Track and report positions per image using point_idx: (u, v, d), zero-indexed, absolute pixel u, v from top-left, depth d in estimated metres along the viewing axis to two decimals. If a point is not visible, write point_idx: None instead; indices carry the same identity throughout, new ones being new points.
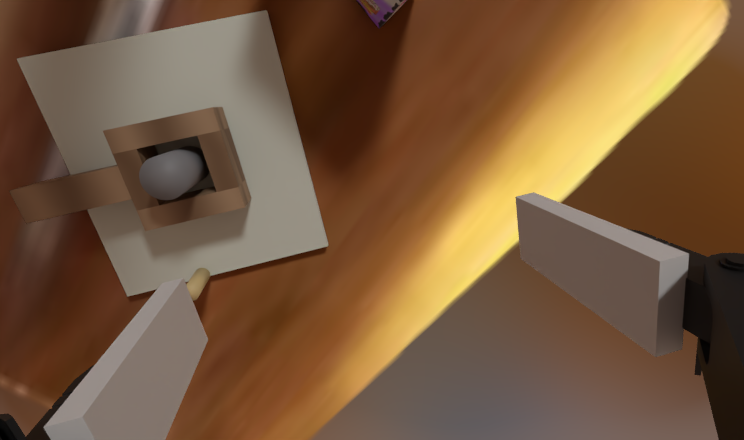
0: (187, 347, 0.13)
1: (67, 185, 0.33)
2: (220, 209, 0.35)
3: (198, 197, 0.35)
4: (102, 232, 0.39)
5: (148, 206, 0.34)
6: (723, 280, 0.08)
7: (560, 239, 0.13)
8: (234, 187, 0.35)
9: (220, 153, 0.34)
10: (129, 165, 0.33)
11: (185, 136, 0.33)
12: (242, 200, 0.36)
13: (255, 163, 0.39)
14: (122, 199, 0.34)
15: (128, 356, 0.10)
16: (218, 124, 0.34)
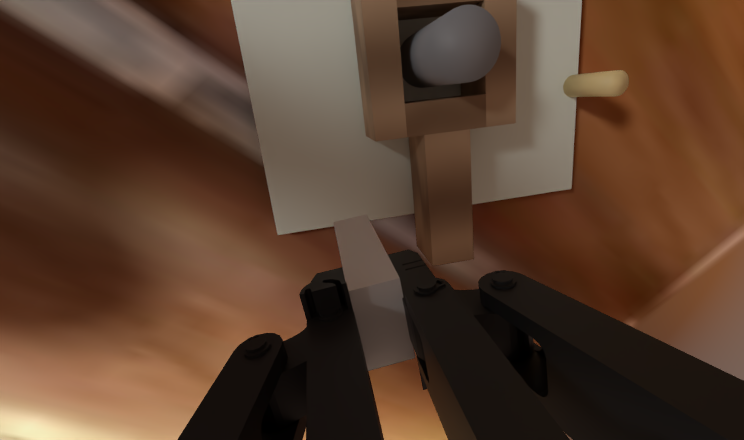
0: None
1: (438, 203, 0.25)
2: (510, 1, 0.22)
3: None
4: (487, 196, 0.30)
5: (484, 109, 0.24)
6: (420, 307, 0.09)
7: None
8: None
9: None
10: (425, 119, 0.23)
11: (396, 26, 0.22)
12: None
13: None
14: (467, 141, 0.24)
15: (364, 258, 0.12)
16: None
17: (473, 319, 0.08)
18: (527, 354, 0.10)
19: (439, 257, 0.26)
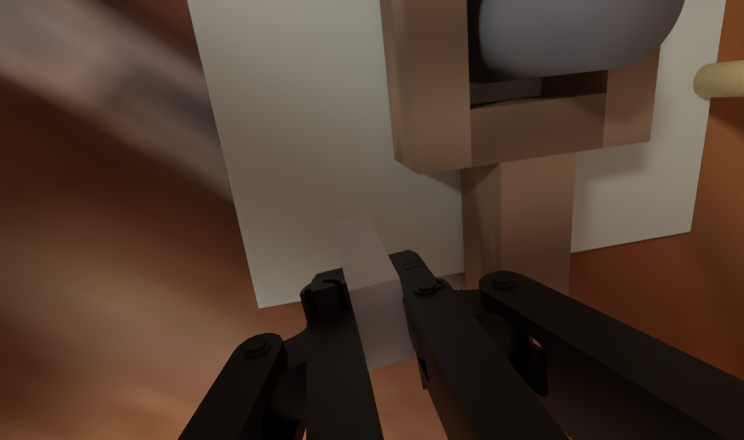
0: None
1: (516, 271, 0.15)
2: None
3: None
4: None
5: (601, 119, 0.14)
6: (420, 307, 0.09)
7: None
8: None
9: None
10: (503, 136, 0.14)
11: None
12: None
13: None
14: (570, 171, 0.14)
15: (364, 258, 0.12)
16: None
17: (473, 319, 0.08)
18: (527, 354, 0.10)
19: None
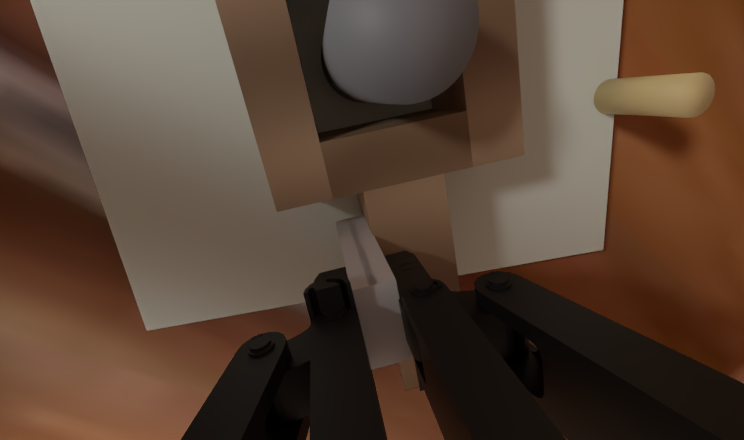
0: None
1: None
2: None
3: None
4: (474, 265, 0.20)
5: (466, 138, 0.14)
6: (416, 308, 0.09)
7: None
8: None
9: None
10: (361, 165, 0.13)
11: (281, 3, 0.11)
12: None
13: None
14: (442, 193, 0.14)
15: (367, 257, 0.12)
16: None
17: (469, 320, 0.08)
18: (523, 355, 0.10)
19: (414, 377, 0.16)
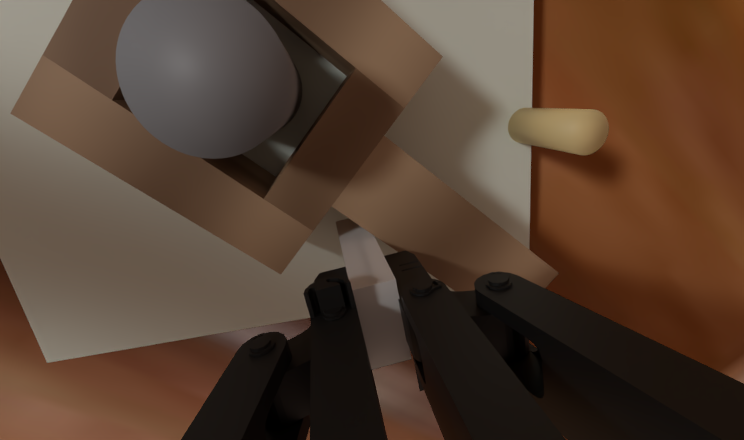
0: None
1: (438, 260, 0.14)
2: None
3: None
4: None
5: (376, 90, 0.12)
6: (416, 308, 0.09)
7: None
8: None
9: (95, 9, 0.11)
10: (310, 188, 0.13)
11: (140, 123, 0.12)
12: None
13: None
14: (398, 152, 0.13)
15: (367, 257, 0.12)
16: (41, 70, 0.11)
17: (469, 320, 0.08)
18: (523, 355, 0.10)
19: None
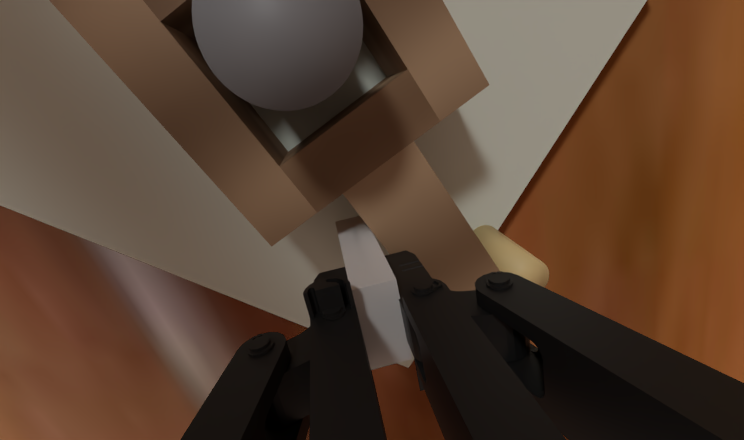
0: None
1: None
2: None
3: None
4: (287, 311, 0.19)
5: (419, 96, 0.12)
6: (417, 308, 0.09)
7: None
8: None
9: None
10: (328, 170, 0.13)
11: (181, 54, 0.11)
12: None
13: None
14: (421, 161, 0.13)
15: (367, 257, 0.12)
16: None
17: (470, 320, 0.08)
18: (523, 355, 0.10)
19: None
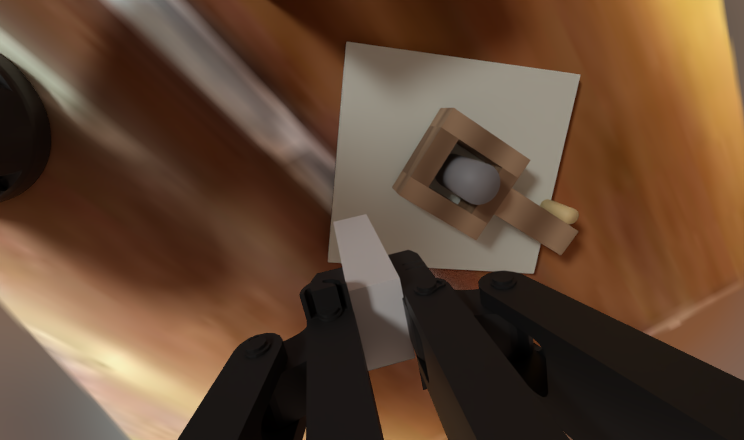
0: None
1: (532, 230, 0.38)
2: (470, 124, 0.35)
3: (474, 147, 0.35)
4: (474, 266, 0.43)
5: (509, 173, 0.36)
6: (420, 307, 0.09)
7: None
8: (444, 129, 0.35)
9: (426, 162, 0.35)
10: (487, 208, 0.37)
11: (435, 193, 0.36)
12: (449, 114, 0.34)
13: (473, 113, 0.39)
14: (516, 193, 0.37)
15: (364, 258, 0.12)
16: (406, 181, 0.36)
17: (473, 319, 0.08)
18: (527, 354, 0.10)
19: (560, 248, 0.39)
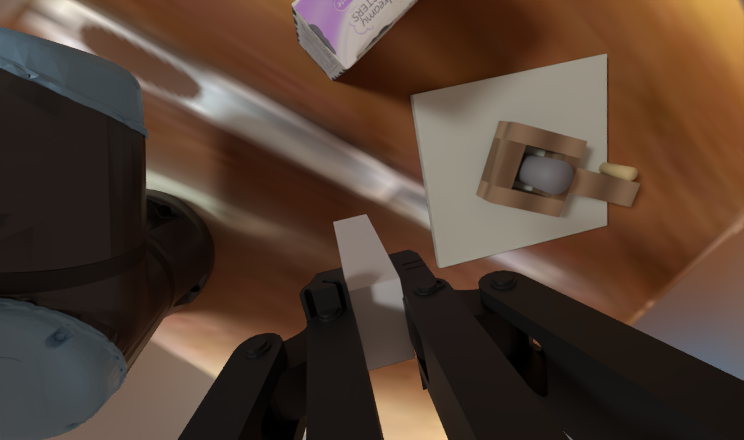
0: None
1: (602, 195, 0.46)
2: (532, 130, 0.42)
3: (539, 147, 0.43)
4: (557, 235, 0.51)
5: (572, 157, 0.44)
6: (420, 307, 0.09)
7: None
8: (513, 141, 0.42)
9: (505, 170, 0.43)
10: None
11: (518, 192, 0.44)
12: (514, 128, 0.42)
13: (525, 115, 0.46)
14: (582, 170, 0.44)
15: (364, 258, 0.12)
16: (492, 189, 0.44)
17: (473, 319, 0.08)
18: (527, 354, 0.10)
19: (628, 202, 0.47)
